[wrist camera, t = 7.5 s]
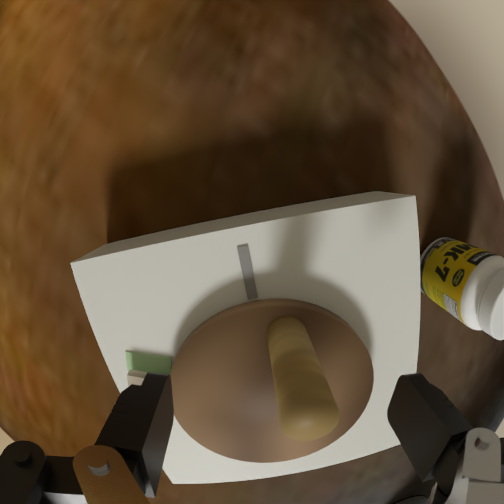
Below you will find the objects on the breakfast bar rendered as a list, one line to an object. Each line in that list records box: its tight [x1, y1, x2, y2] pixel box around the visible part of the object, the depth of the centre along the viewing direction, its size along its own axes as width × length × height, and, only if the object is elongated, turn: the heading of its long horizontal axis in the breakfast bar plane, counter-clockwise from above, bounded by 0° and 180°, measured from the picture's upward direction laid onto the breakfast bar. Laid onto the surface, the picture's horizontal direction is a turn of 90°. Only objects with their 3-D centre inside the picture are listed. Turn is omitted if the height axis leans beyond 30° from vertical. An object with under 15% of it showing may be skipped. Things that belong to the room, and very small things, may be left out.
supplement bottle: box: [420, 237, 504, 340], centre depth 16 cm, size 5×5×8 cm
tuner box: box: [71, 191, 420, 484], centre depth 19 cm, size 18×18×5 cm
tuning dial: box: [127, 299, 374, 463], centre depth 12 cm, size 13×11×7 cm
